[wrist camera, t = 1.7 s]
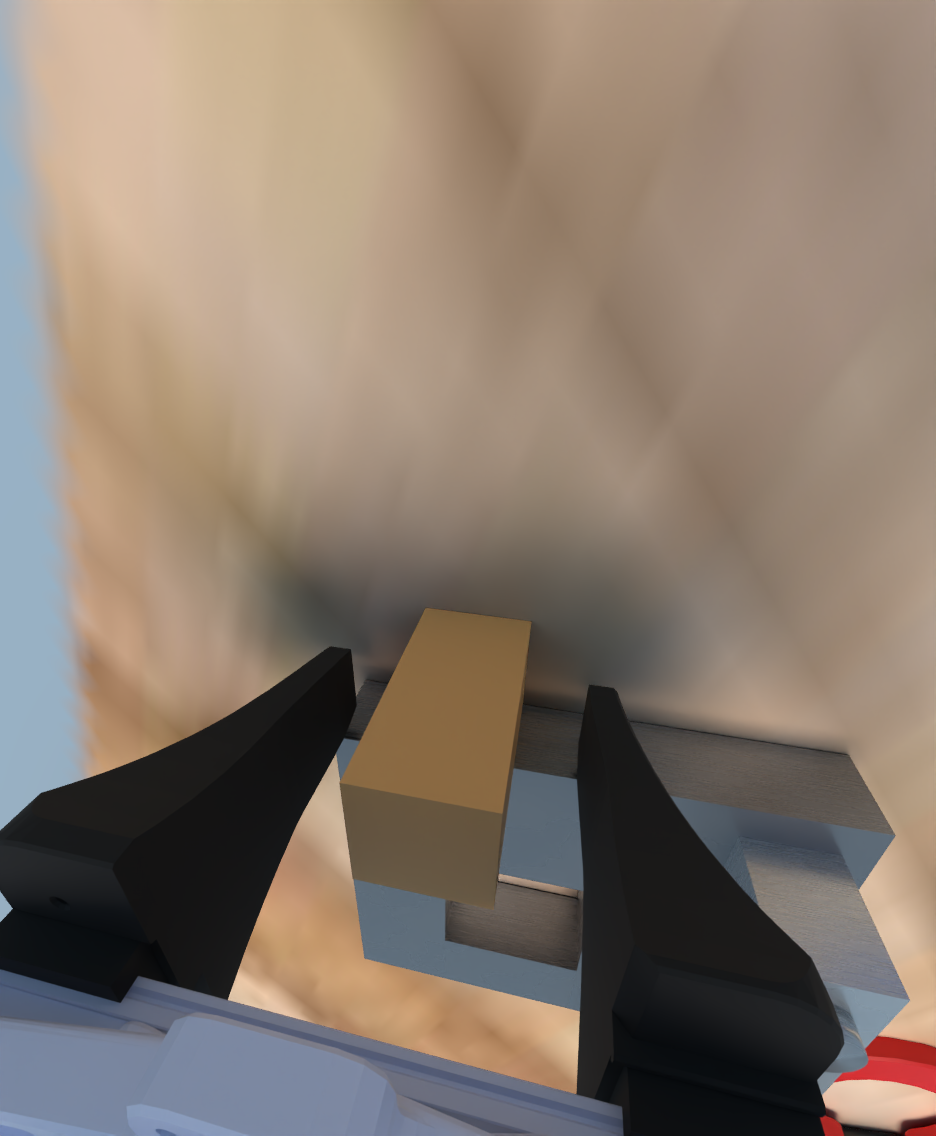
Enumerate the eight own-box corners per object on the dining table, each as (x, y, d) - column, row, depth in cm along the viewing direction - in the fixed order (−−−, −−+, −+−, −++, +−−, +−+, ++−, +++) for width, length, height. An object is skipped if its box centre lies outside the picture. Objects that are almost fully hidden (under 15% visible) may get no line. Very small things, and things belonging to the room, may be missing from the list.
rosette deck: (849, 755, 14) (1006, 1026, 9) (730, 972, 20) (783, 1214, 15) (365, 680, 16) (264, 861, 11) (385, 895, 22) (324, 1081, 17)
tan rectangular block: (531, 621, 14) (501, 813, 9) (522, 703, 15) (493, 910, 10) (425, 607, 15) (339, 782, 9) (427, 688, 16) (352, 878, 11)
